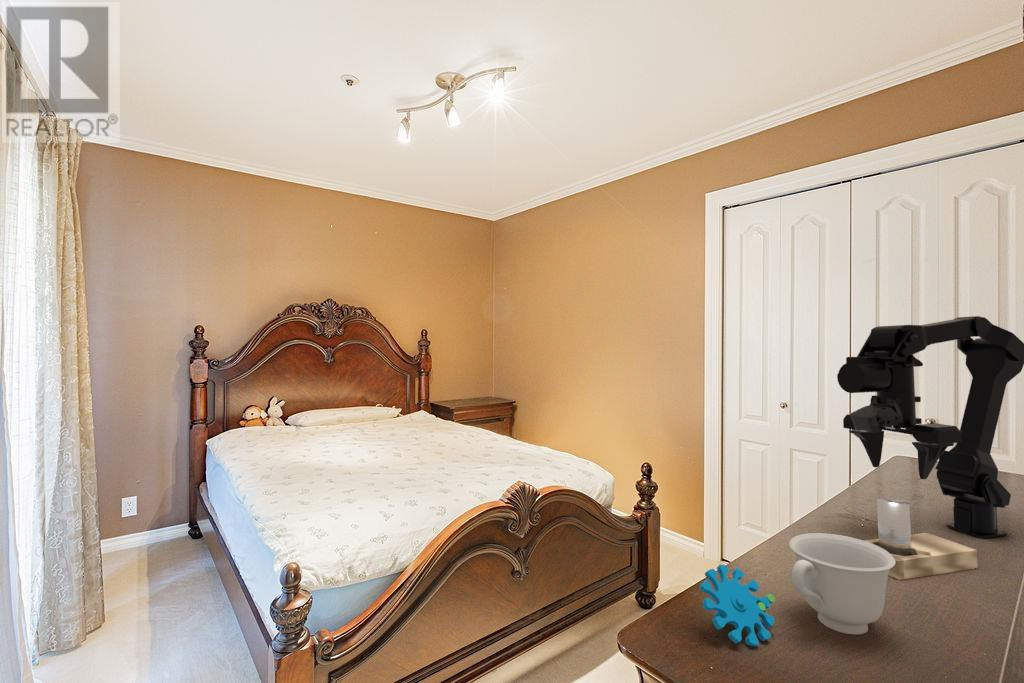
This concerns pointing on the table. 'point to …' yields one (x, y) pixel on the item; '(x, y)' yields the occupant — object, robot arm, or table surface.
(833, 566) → the teacup
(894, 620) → the table surface
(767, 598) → the gear
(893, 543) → the translucent cylinder
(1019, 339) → the robot arm
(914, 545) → the jig
